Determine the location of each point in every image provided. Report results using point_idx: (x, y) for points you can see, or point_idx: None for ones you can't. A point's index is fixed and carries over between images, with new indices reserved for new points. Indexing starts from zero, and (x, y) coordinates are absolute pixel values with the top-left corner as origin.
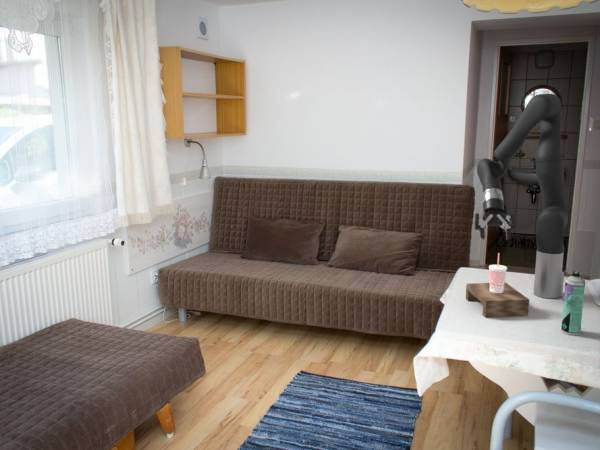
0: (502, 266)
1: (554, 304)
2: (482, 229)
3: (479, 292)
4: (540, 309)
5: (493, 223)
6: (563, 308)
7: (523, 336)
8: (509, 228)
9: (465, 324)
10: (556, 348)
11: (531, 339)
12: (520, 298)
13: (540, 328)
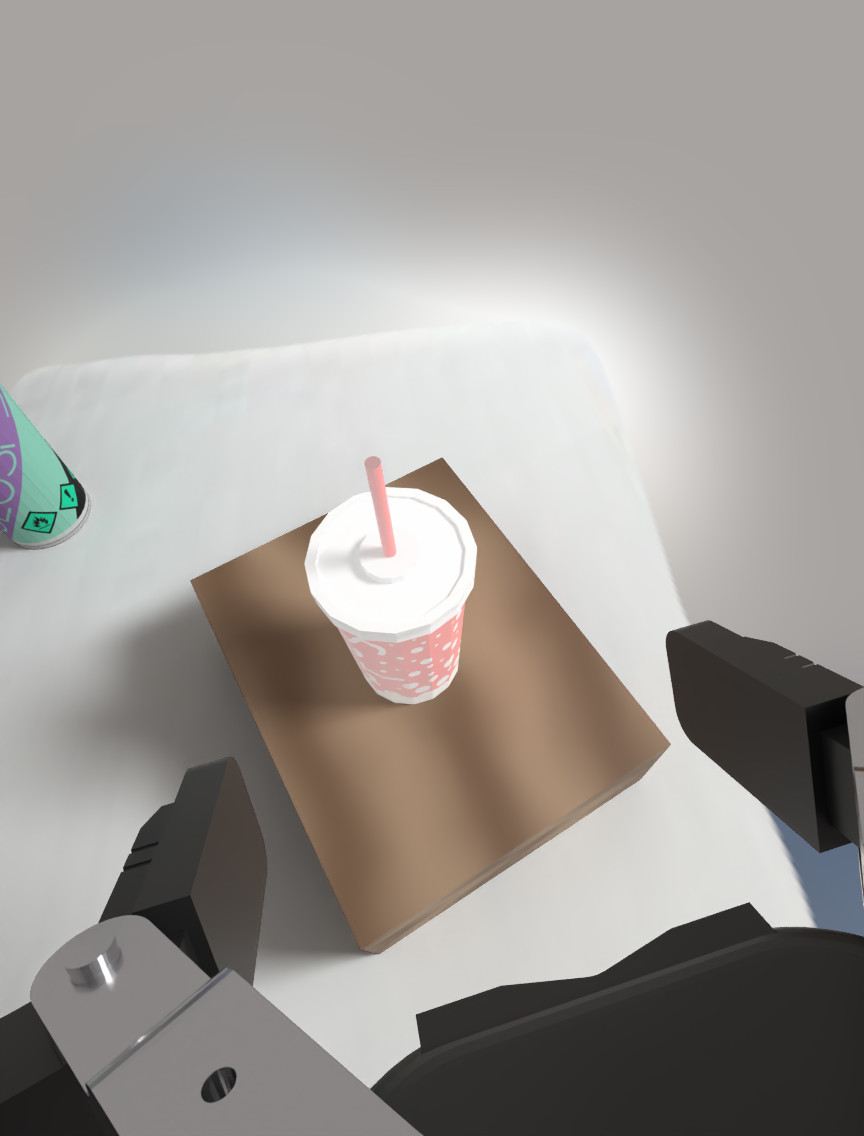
0: (350, 599)
1: (12, 952)
2: (826, 683)
3: (515, 579)
4: (137, 784)
5: (650, 954)
6: (24, 421)
7: (263, 399)
8: (92, 932)
9: (514, 413)
10: (149, 356)
11: (233, 387)
12: (244, 576)
13: (181, 501)
